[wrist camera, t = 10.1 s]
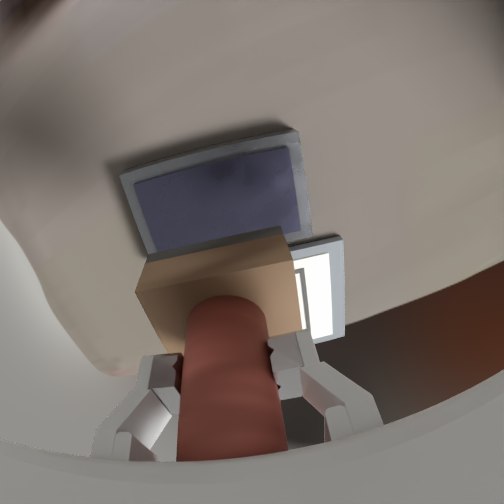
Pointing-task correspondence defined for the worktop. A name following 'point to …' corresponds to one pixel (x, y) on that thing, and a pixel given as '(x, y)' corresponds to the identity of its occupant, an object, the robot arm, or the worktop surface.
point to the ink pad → (221, 192)
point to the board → (321, 287)
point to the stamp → (224, 338)
